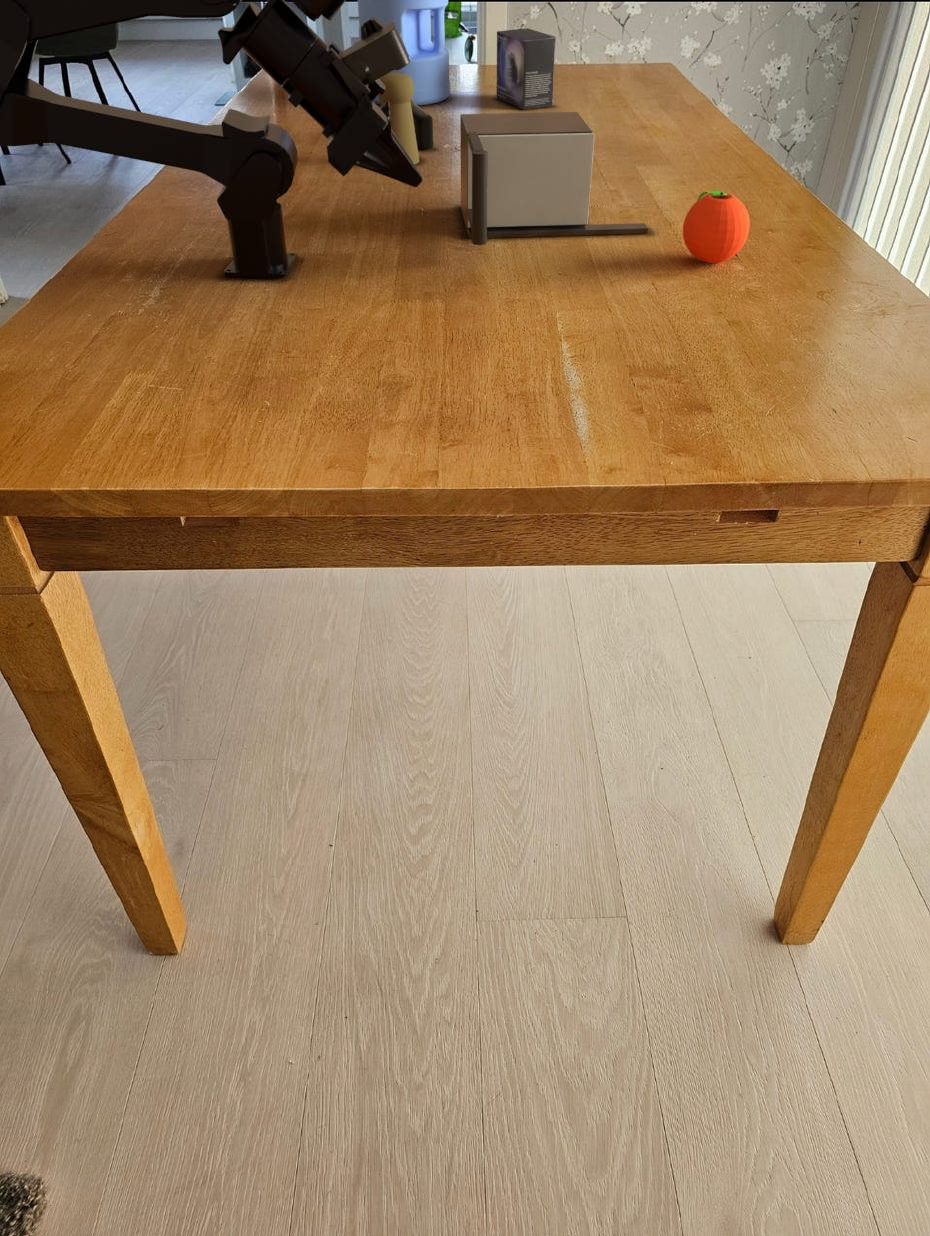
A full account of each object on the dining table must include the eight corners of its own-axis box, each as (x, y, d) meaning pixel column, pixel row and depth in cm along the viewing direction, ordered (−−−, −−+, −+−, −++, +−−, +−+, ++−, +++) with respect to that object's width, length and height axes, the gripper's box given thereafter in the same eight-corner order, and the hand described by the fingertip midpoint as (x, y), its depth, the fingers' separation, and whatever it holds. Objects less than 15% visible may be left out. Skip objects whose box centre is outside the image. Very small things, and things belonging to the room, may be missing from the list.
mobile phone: (436, 114, 137) (403, 91, 147) (416, 115, 136) (385, 93, 147) (436, 151, 140) (404, 126, 151) (417, 152, 139) (386, 128, 150)
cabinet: (468, 238, 108) (468, 139, 102) (460, 207, 118) (460, 114, 111) (647, 233, 110) (659, 134, 103) (625, 203, 119) (635, 110, 112)
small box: (493, 98, 168) (494, 30, 161) (525, 95, 170) (528, 27, 163) (520, 110, 160) (523, 38, 154) (554, 106, 163) (557, 36, 156)
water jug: (349, 104, 164) (334, -97, 146) (381, 87, 176) (371, -101, 158) (434, 109, 161) (429, -96, 143) (461, 91, 172) (460, -100, 155)
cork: (369, 163, 134) (363, 75, 127) (391, 153, 138) (387, 68, 131) (405, 168, 132) (402, 79, 125) (427, 158, 136) (424, 72, 129)
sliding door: (472, 256, 101) (472, 154, 95) (464, 226, 109) (464, 130, 103) (603, 252, 102) (612, 151, 96) (586, 223, 110) (594, 127, 103)
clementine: (661, 252, 105) (670, 184, 100) (715, 244, 107) (726, 177, 102) (700, 275, 99) (711, 204, 94) (756, 267, 101) (769, 197, 96)
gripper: (353, 2, 79) (483, 143, 86) (356, -22, 93) (467, 101, 101) (271, 109, 83) (401, 234, 91) (286, 70, 98) (397, 181, 105)
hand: (419, 183), depth 97 cm, fingers closed
